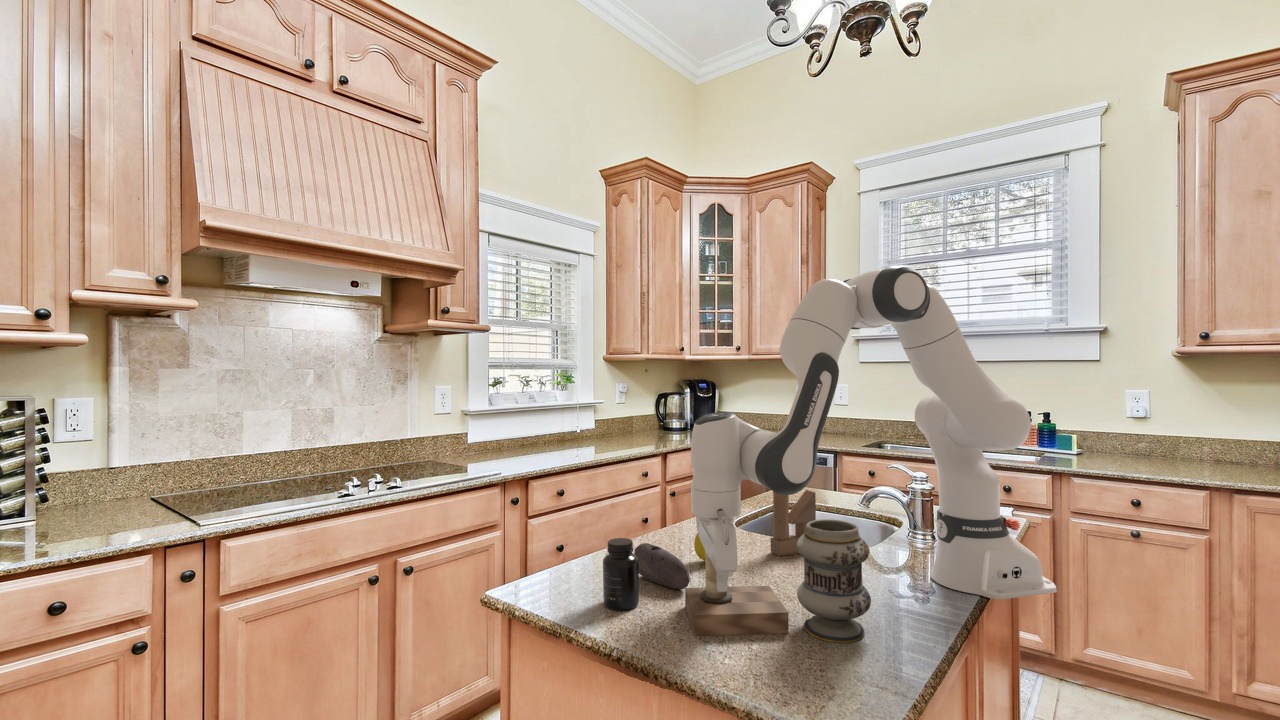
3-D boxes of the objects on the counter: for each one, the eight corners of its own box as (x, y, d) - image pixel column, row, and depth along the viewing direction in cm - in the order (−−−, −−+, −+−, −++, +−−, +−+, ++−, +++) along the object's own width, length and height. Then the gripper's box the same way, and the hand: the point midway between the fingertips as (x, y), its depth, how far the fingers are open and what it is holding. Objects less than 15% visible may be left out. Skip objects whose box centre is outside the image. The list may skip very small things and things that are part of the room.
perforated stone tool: (697, 591, 120) (697, 556, 120) (678, 598, 117) (677, 562, 117) (650, 571, 132) (650, 539, 132) (631, 576, 128) (631, 544, 128)
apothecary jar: (814, 609, 111) (813, 512, 111) (881, 627, 103) (880, 522, 103) (785, 632, 101) (784, 526, 101) (856, 654, 94) (855, 539, 94)
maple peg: (728, 608, 110) (728, 554, 110) (735, 621, 105) (734, 564, 105) (698, 609, 110) (698, 555, 110) (703, 622, 105) (703, 565, 105)
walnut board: (769, 604, 113) (769, 585, 113) (788, 633, 101) (788, 612, 101) (685, 606, 112) (685, 588, 112) (694, 636, 100) (694, 615, 100)
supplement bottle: (615, 594, 118) (615, 534, 118) (645, 601, 115) (645, 539, 115) (595, 607, 112) (595, 543, 112) (626, 614, 109) (626, 548, 109)
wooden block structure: (816, 551, 144) (815, 476, 144) (779, 557, 140) (778, 480, 140) (806, 546, 148) (806, 473, 148) (769, 552, 143) (769, 477, 143)
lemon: (706, 568, 133) (706, 532, 133) (689, 561, 137) (689, 527, 137) (723, 562, 136) (723, 527, 136) (706, 556, 141) (706, 522, 141)
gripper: (746, 518, 97) (747, 603, 97) (722, 490, 118) (723, 560, 118) (708, 518, 97) (708, 604, 97) (690, 491, 117) (691, 561, 117)
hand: (716, 580), depth 108 cm, fingers open, 8 cm apart
